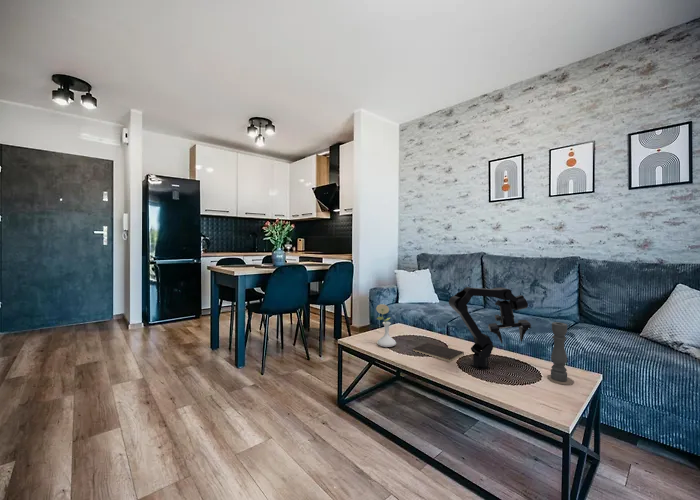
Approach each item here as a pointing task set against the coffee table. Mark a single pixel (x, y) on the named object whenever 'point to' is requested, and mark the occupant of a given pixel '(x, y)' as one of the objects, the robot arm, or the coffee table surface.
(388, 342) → the flower in vase
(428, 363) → the coffee table surface
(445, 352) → the hardcover book
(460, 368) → the coffee table surface
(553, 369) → the candle holder
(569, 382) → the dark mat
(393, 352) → the coffee table surface
